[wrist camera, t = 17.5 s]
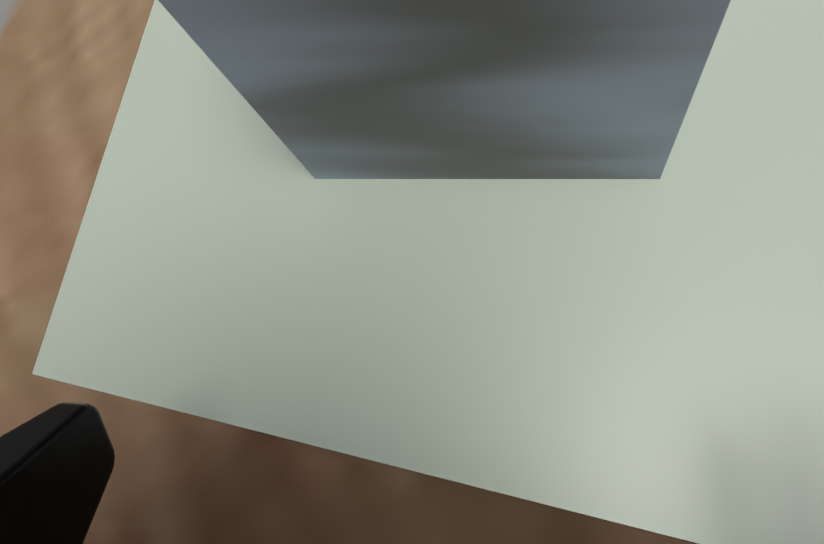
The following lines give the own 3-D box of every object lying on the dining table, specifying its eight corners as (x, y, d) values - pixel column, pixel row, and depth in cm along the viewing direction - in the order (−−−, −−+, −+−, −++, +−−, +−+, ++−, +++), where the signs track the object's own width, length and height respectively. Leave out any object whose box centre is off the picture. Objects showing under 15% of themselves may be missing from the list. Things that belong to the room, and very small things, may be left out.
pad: (146, 390, 17) (32, 373, 14) (297, -120, 20) (237, -254, 16) (782, 549, 14) (866, 586, 10) (863, -80, 17) (955, -236, 13)
